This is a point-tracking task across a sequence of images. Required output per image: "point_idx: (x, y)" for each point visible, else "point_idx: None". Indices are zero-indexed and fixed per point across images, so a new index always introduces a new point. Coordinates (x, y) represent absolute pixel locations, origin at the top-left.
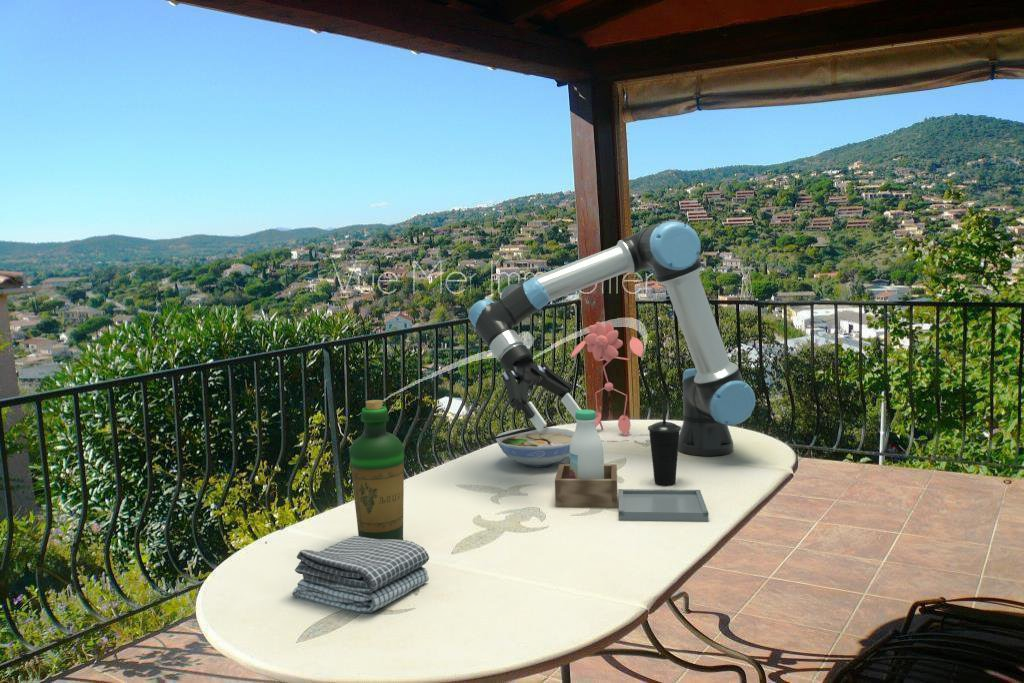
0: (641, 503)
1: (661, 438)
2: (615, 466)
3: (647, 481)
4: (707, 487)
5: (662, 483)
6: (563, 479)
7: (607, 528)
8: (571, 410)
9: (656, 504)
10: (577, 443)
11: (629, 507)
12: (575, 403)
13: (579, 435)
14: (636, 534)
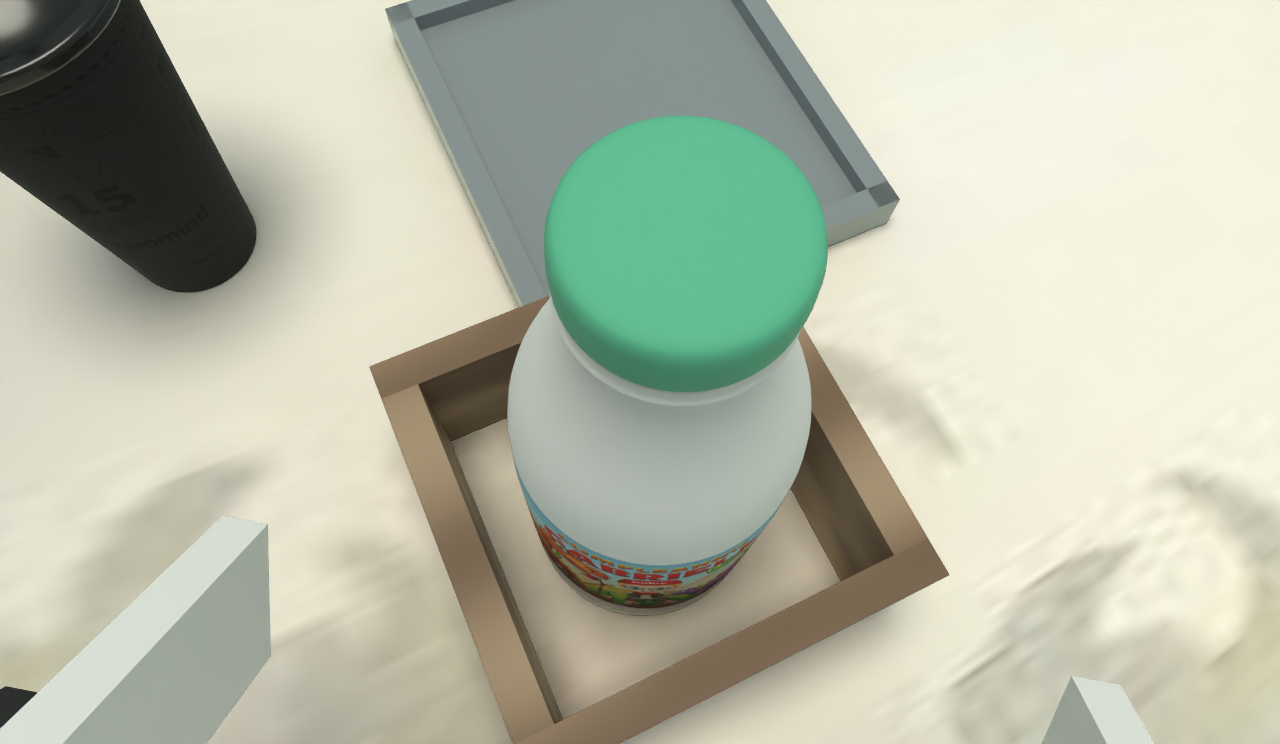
0: None
1: (140, 17)
2: (426, 353)
3: (180, 337)
4: (209, 53)
5: (252, 225)
6: (898, 528)
7: (1008, 226)
8: (175, 740)
9: None
10: (809, 399)
11: None
12: (107, 658)
13: (794, 363)
14: (996, 106)
